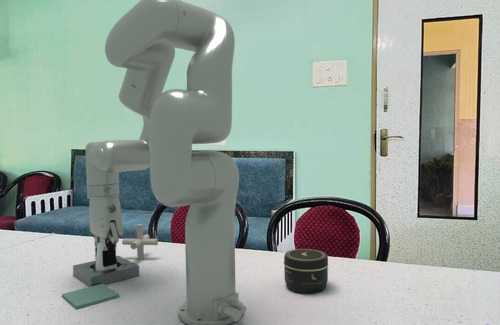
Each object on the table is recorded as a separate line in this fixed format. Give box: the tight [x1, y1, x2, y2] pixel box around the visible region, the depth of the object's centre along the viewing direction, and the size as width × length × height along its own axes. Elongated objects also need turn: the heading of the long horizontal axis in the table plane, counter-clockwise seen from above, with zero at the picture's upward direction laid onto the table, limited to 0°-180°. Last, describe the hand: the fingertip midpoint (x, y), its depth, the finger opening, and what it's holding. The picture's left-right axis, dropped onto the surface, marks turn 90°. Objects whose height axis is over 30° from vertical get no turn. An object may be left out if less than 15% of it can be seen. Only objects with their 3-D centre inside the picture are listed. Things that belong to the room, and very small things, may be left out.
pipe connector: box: [121, 223, 159, 261], centre depth 112 cm, size 10×10×10 cm
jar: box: [283, 248, 329, 295], centre depth 89 cm, size 10×10×8 cm
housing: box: [72, 255, 140, 287], centre depth 98 cm, size 12×12×3 cm
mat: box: [61, 284, 120, 310], centre depth 85 cm, size 9×9×1 cm
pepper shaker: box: [95, 235, 117, 271], centre depth 98 cm, size 5×5×11 cm
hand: (105, 262), depth 98 cm, fingers closed on pepper shaker, 3 cm apart
